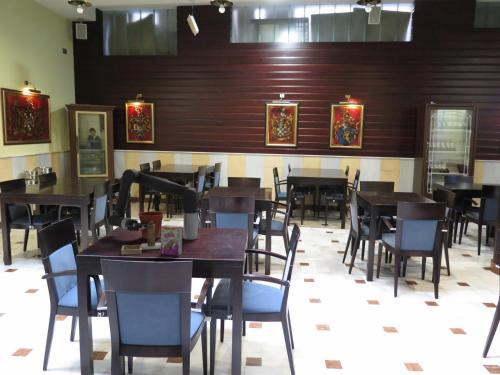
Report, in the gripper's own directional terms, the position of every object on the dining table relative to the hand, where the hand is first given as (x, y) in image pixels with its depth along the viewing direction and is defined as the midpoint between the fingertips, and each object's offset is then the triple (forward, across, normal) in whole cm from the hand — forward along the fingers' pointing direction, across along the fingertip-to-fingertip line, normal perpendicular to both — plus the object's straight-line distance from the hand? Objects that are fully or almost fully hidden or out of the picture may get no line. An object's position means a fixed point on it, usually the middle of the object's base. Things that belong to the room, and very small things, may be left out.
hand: (144, 228), depth 259 cm
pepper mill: (+7, 0, +10) cm, 12 cm away
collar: (+9, -14, +10) cm, 20 cm away
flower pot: (-12, +13, +10) cm, 21 cm away
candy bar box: (+29, -2, +10) cm, 31 cm away
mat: (+7, 0, +10) cm, 12 cm away
